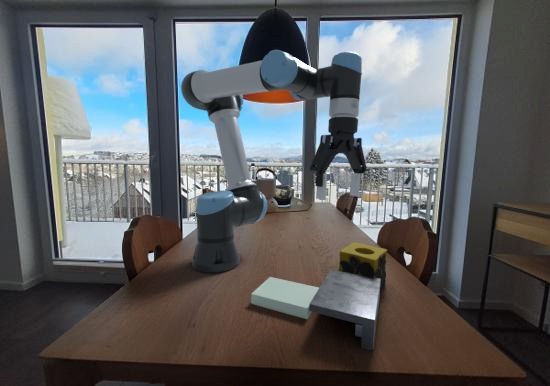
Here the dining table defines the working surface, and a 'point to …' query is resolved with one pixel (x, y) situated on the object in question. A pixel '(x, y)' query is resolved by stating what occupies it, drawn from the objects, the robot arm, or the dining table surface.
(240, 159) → the robot arm
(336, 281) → the riser
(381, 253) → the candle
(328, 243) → the dining table surface
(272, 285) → the mint green panel
